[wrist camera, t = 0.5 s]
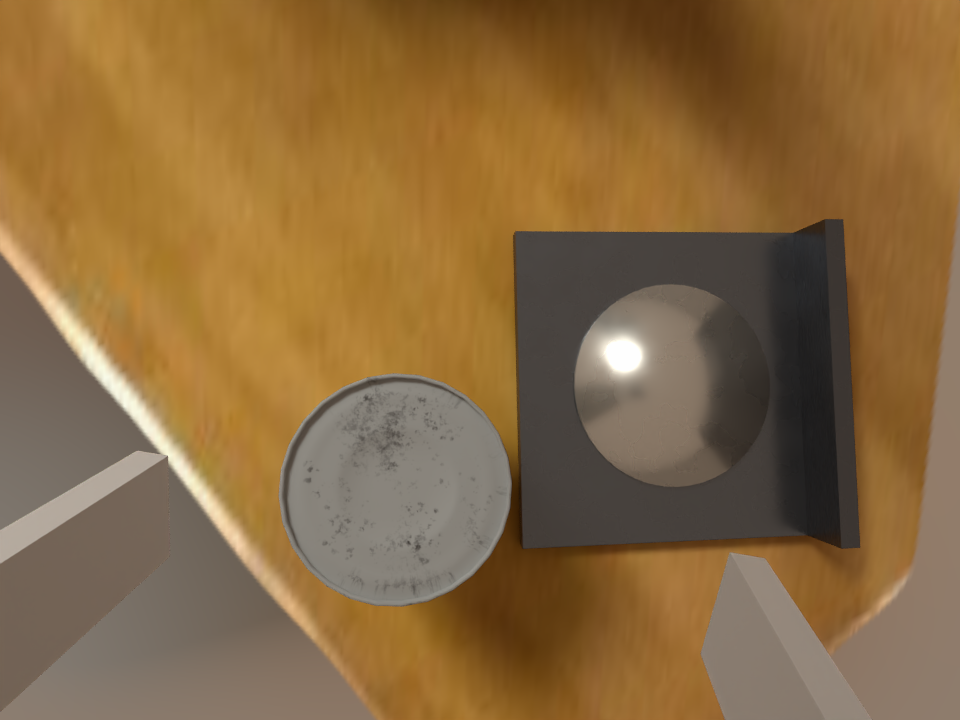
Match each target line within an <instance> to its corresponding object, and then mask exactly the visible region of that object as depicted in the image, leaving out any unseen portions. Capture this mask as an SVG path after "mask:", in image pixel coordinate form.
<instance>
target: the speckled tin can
mask: <svg viewBox="0 0 960 720" xmlns="http://www.w3.org/2000/svg"><path fill="white" fill-rule="evenodd" d="M511 489H512V479H511V473H510V467H509V460H508V456H507V453H506V451H505V448H504V446H503V443H502V441H501V438H500V435H499V433H498V432H497V430H496V429H495V427H494V426H493V424H492V423H491V421H490V420H489V419H488V417H487V416H486V414H485V413H484V412H483V411H482V410H481V409H480V408H479V407H478V406H477V405H476V404H475V403H474V402H472V401H471V400H470V399H469V398H468V397H467V396H466V395H464V394H463V393H461V392H459V391H457V390H456V389H454V388H452V387H450V386H449V385H447V384H445V383H443V382H440V381H436V380H433V379H430V378H427V377H423V376H420V375H408V374H394V373H393V374H387V375H380V376H374V377H367V378H365V379H362V380H360V381H357V382H355V383H352V384H350V385H347V386H344V387H342V388H341V389H339V390H338V391H336V392H335V393H334V394H332V395H331V396H329V397H328V398H326V399H325V400H323V401H322V402H321V403H320V404H319V405H318V406H317V407H316V408H315V409H314V410H313V411H312V412H311V413H310V414H309V415H308V416H307V417H306V418H305V419H304V421H303V422H302V424H301V425H300V427H299V429H298V430H297V432H296V434H295V435H294V437H293V439H292V440H291V442H290V444H289V447H288V450H287V453H286V456H285V459H284V462H283V465H282V468H281V476H280V488H279V501H280V508H281V515H282V522H283V525H284V527H285V530H286V532H287V535H288V538H289V540H290V543H291V545H292V547H293V549H294V550H295V552H296V553H297V555H298V556H299V558H300V559H301V560H302V562H303V563H304V565H305V566H306V568H307V569H308V570H309V571H310V572H312V573H313V574H314V575H315V576H316V577H317V578H318V579H319V580H320V581H322V582H323V583H324V584H325V585H326V586H327V587H329V588H331V589H333V590H335V591H337V592H339V593H340V594H342V595H344V596H346V597H348V598H350V599H353V600H357V601H360V602H364V603H368V604H371V605H375V606H407V605H412V604H417V603H422V602H428V601H430V600H432V599H434V598H437V597H439V596H441V595H444V594H446V593H448V592H450V591H452V590H454V589H455V588H456V587H458V586H459V585H461V584H462V583H463V582H465V581H466V580H467V579H469V578H470V577H471V576H473V575H474V574H475V573H476V571H477V570H478V569H479V568H480V567H481V566H482V565H483V563H484V562H485V561H486V560H487V559H488V558H489V557H490V555H491V554H492V552H493V550H494V548H495V546H496V544H497V543H498V541H499V539H500V537H501V535H502V534H503V531H504V527H505V524H506V521H507V517H508V514H509V510H510V504H511Z"/></svg>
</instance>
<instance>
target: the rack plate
mask: <svg viewBox="0 0 960 720" xmlns="http://www.w3.org/2000/svg"><path fill="white" fill-rule="evenodd" d="M513 249H514V292H515V334H516V377H517V420H518V463H519V506H520V544H521V546H522V548H523V549H527V548H548V547H569V546H590V545H611V544H632V543H653V542H674V541H695V540H716V539H737V538H758V537H779V536H800V535H808V536H811V537H813V538H816V539H818V540H821V541H823V542H826V543H829V544H831V545H834V546H836V547H839V548H841V549H843V548H860V535H859V516H858V497H857V478H856V458H855V439H854V420H853V400H852V381H851V362H850V342H849V323H848V304H847V285H846V265H845V246H844V227H843V220H842V219H825V220H822V221H820V222H818V223H815V224H813V225H810V226H808V227H806V228H803V229H801V230H799V231H796V232H794V233H715V232H530V231H515V233H514V235H513Z"/></svg>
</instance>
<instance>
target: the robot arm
mask: <svg viewBox="0 0 960 720" xmlns="http://www.w3.org/2000/svg"><path fill="white" fill-rule="evenodd" d="M168 487H169V485H168V456H166V455H160V454H154V453H148V452H142V451H136V452H134V453H133V454H131V455H130V456H127V457H126V458H124V459H122V460H121V461H119V462H117V463H115V464H114V465H112V466H110V467H108V468H107V469H105V470H103V471H101V472H100V473H98V474H96V475H95V476H93V477H91V478H89V479H88V480H86V481H84V482H83V483H81V484H79V485H78V486H76V487H74V488H72V489H71V490H69V491H67V492H66V493H64V494H62V495H60V496H58V497H57V498H55V499H53V500H52V501H50V502H48V503H46V504H45V505H43V506H41V507H39V508H38V509H36V510H34V511H33V512H31V513H29V514H28V515H26V516H24V517H22V518H21V519H19V520H17V521H15V522H14V523H12V524H10V525H8V526H7V527H5V528H3V529H2V530H0V712H1V711H2V710H3V709H4V708H5V707H6V706H7V705H8V704H9V703H11V702H12V701H13V700H14V699H15V698H16V697H17V696H18V695H19V694H20V693H21V692H23V691H24V690H25V689H26V688H27V687H28V686H29V685H30V684H31V683H32V682H33V681H35V680H36V679H37V678H38V677H39V676H40V675H41V674H42V673H43V672H44V671H45V670H47V669H48V668H49V667H50V666H51V665H52V664H53V663H54V662H55V661H56V660H57V659H58V658H60V657H61V656H62V655H63V654H64V653H65V652H66V651H67V650H68V649H69V648H70V647H71V646H72V645H74V644H75V643H76V642H77V641H78V640H79V639H80V638H81V637H82V636H84V635H85V634H86V633H87V632H88V631H89V630H90V629H91V628H92V627H93V626H94V625H96V624H97V622H99V621H100V620H101V619H102V618H103V617H104V616H105V615H106V614H108V613H109V612H110V611H111V610H112V609H113V608H114V607H115V606H116V605H117V604H118V603H119V602H120V601H122V600H123V599H124V598H125V597H126V596H127V595H128V594H129V593H130V592H131V591H133V589H135V588H136V587H137V586H138V585H139V584H140V583H141V582H142V581H143V580H145V579H146V578H147V577H148V576H149V575H150V574H151V573H152V572H153V571H154V570H155V569H157V568H158V567H159V566H160V565H161V564H162V563H163V562H164V561H165V560H166V559H167V558H168V557H169V556H170V539H169V538H170V533H169V488H168ZM701 656H702V659H703V662H704V664H705V667H706V670H707V672H708V675H709V678H710V681H711V683H712V686H713V689H714V691H715V694H716V697H717V699H718V702H719V705H720V707H721V710H722V713H723V715H724V718H725V720H872V718H871V717H870V716H869V714H868V712H867V711H866V710H865V708H864V706H863V705H862V704H861V702H860V700H859V699H858V697H857V696H856V694H855V693H854V691H853V690H852V688H851V687H850V686H849V684H848V682H847V681H846V680H845V678H844V676H843V675H842V673H841V672H840V671H839V669H838V668H837V666H836V664H835V663H834V661H833V660H832V658H831V657H830V655H829V654H828V652H827V651H826V649H825V648H824V646H823V645H822V643H821V642H820V640H819V639H818V637H817V636H816V634H815V633H814V631H813V630H812V628H811V627H810V625H809V624H808V622H807V621H806V619H805V618H804V616H803V615H802V613H801V612H800V610H799V609H798V607H797V606H796V604H795V603H794V601H793V600H792V598H791V597H790V595H789V594H788V592H787V591H786V589H785V588H784V586H783V585H782V583H781V582H780V580H779V579H778V577H777V576H776V574H775V573H774V571H773V570H772V568H771V567H770V565H769V564H768V562H767V561H766V559H765V558H760V557H754V556H748V555H742V554H737V553H731V552H730V553H729V557H728V560H727V564H726V567H725V571H724V574H723V578H722V581H721V585H720V588H719V592H718V595H717V599H716V602H715V606H714V609H713V612H712V616H711V619H710V623H709V626H708V630H707V633H706V637H705V640H704V644H703V647H702V651H701Z"/></svg>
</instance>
